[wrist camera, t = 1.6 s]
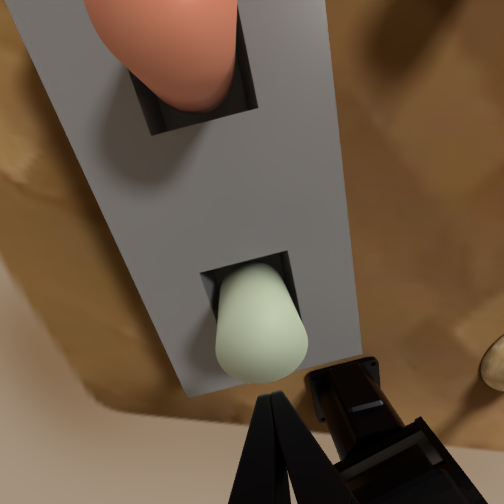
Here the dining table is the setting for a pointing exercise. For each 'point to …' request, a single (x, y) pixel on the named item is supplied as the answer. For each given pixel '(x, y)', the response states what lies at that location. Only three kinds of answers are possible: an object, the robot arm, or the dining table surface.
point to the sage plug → (258, 326)
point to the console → (213, 175)
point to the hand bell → (494, 365)
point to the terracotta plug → (173, 47)
